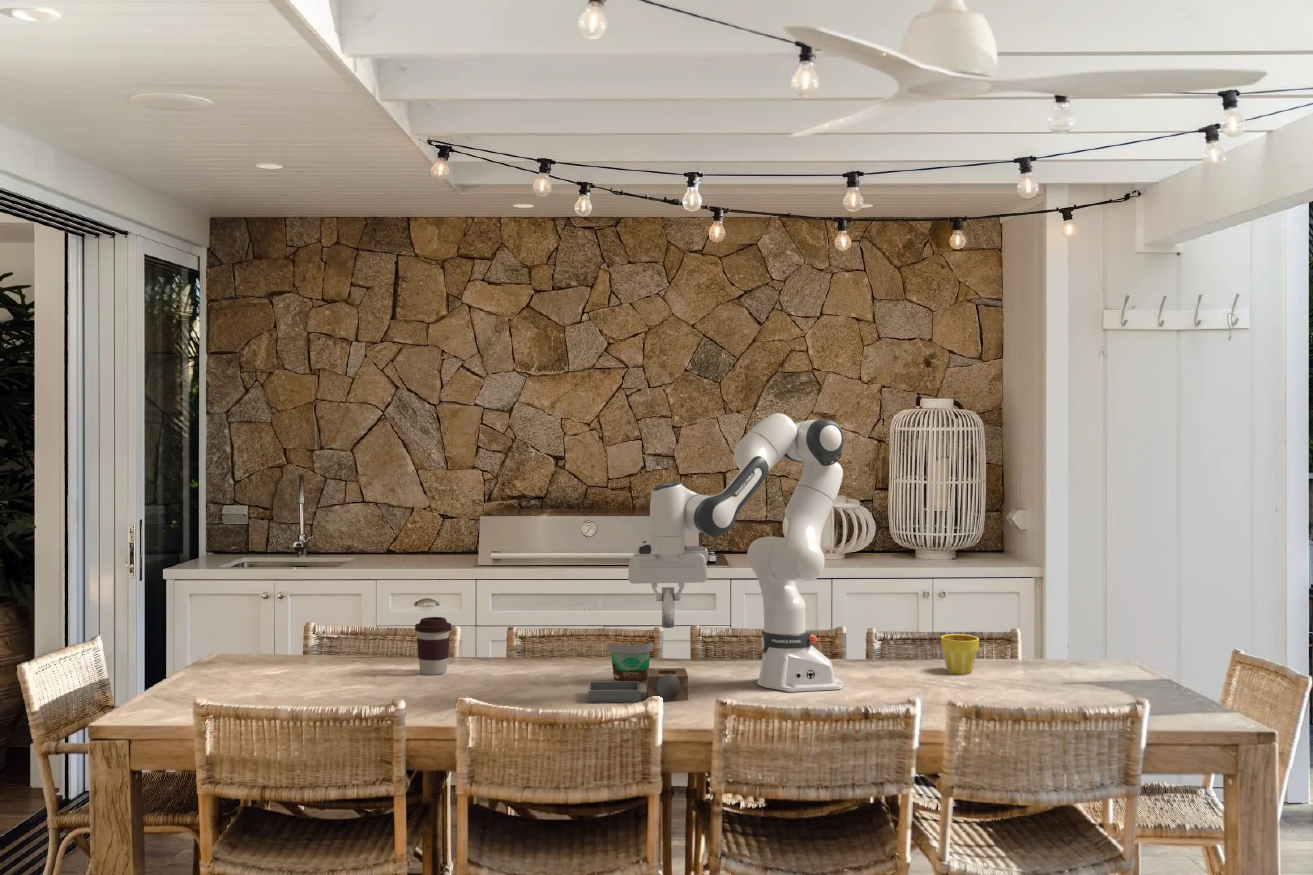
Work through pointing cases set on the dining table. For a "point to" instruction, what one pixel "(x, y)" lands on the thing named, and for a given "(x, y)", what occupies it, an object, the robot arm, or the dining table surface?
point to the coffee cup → (433, 645)
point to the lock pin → (668, 607)
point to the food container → (630, 661)
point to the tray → (614, 691)
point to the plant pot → (959, 652)
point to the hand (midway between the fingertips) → (668, 600)
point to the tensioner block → (667, 683)
